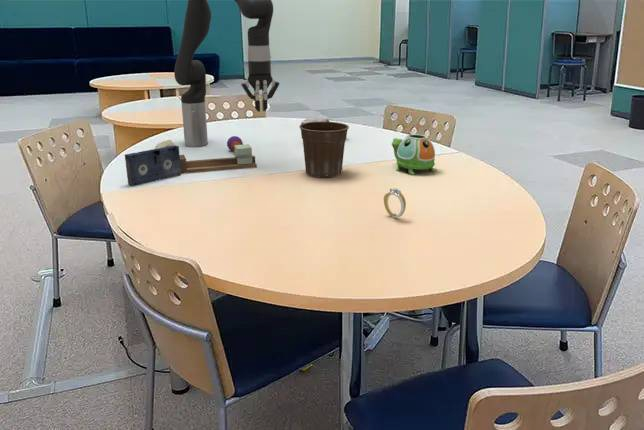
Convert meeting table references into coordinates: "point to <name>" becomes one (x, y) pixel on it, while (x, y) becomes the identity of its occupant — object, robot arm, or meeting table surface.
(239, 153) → the keeper
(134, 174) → the vhs cassette tape
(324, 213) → the meeting table surface
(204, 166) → the rail
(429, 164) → the turtle holder
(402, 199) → the ring
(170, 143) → the fossil replica
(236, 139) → the kendama
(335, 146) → the plant pot
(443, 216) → the meeting table surface
